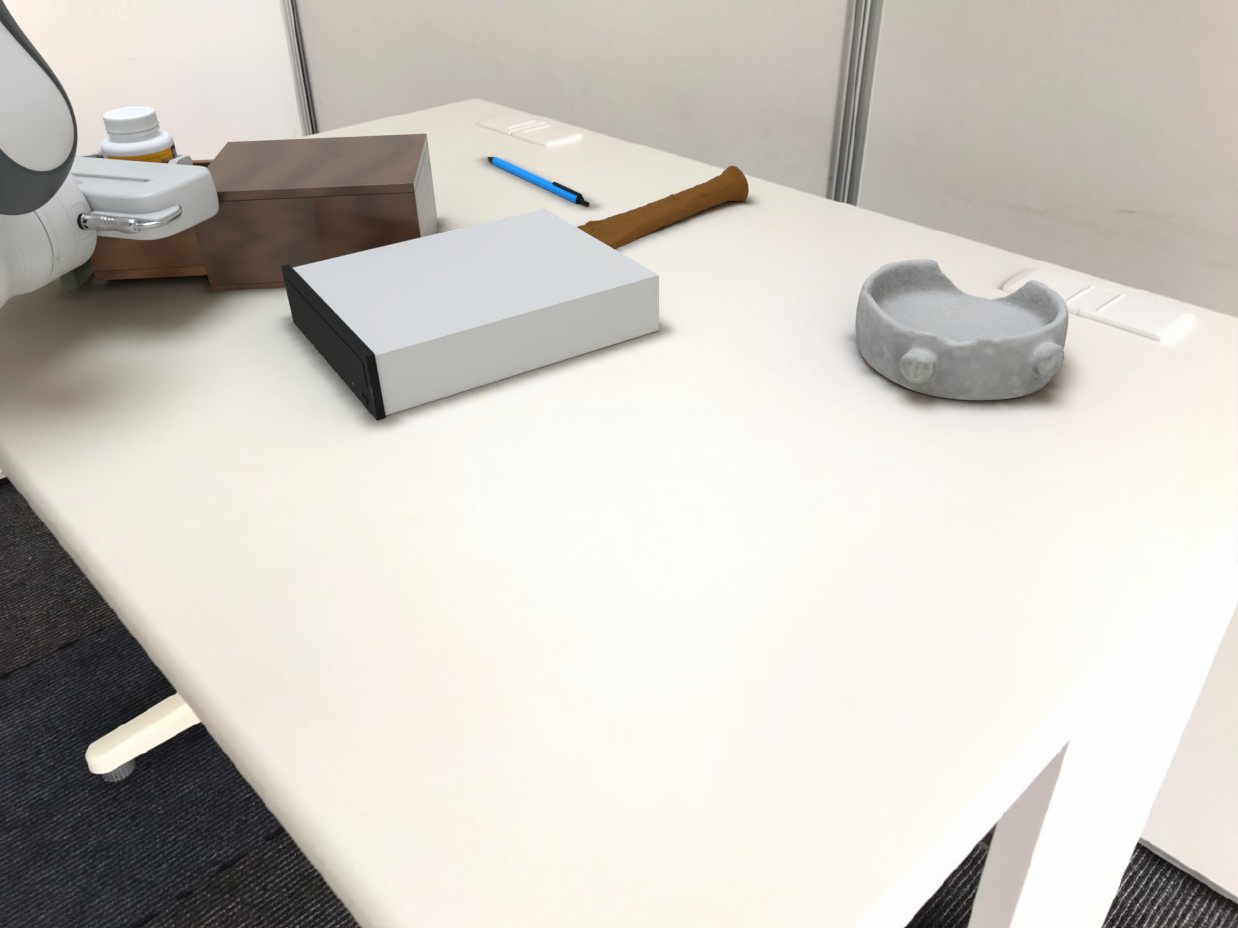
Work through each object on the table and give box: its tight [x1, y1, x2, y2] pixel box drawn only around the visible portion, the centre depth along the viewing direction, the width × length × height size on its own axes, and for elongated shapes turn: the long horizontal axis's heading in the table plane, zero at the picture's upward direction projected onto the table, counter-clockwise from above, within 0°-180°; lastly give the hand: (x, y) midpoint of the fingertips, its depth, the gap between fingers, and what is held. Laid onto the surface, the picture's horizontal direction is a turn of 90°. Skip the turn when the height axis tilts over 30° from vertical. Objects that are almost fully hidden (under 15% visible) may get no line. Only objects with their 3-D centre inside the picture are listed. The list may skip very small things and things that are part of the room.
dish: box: [855, 258, 1070, 401], centre depth 70 cm, size 14×14×5 cm
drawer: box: [59, 158, 214, 290], centre depth 86 cm, size 21×12×7 cm, turn 95°
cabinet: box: [195, 133, 439, 292], centre depth 87 cm, size 18×14×9 cm
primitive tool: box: [576, 165, 750, 250], centre depth 94 cm, size 19×6×4 cm, turn 130°
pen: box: [486, 156, 590, 207], centre depth 104 cm, size 1×19×1 cm, turn 37°
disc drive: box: [281, 208, 660, 421], centre depth 75 cm, size 18×22×5 cm
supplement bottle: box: [100, 105, 178, 163], centre depth 84 cm, size 6×6×10 cm
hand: (149, 161), depth 84 cm, fingers closed on supplement bottle, 5 cm apart
